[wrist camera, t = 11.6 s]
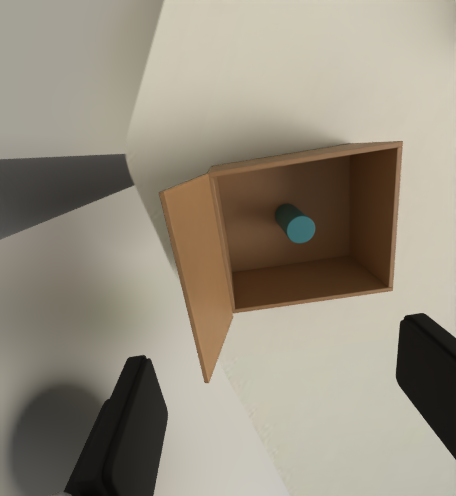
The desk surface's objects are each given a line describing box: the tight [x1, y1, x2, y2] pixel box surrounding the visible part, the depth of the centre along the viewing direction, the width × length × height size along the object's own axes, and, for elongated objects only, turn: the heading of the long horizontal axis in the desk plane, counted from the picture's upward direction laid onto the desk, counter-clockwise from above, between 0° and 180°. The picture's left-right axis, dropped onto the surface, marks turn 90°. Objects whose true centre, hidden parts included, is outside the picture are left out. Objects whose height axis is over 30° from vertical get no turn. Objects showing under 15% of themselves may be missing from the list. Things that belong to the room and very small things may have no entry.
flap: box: [159, 174, 233, 383], centre depth 19 cm, size 7×13×1 cm
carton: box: [207, 141, 403, 313], centre depth 26 cm, size 15×13×8 cm
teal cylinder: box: [275, 203, 315, 243], centre depth 27 cm, size 3×3×6 cm
